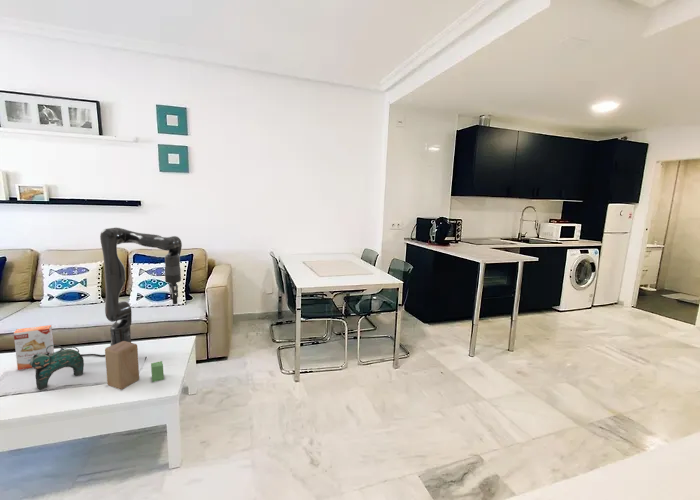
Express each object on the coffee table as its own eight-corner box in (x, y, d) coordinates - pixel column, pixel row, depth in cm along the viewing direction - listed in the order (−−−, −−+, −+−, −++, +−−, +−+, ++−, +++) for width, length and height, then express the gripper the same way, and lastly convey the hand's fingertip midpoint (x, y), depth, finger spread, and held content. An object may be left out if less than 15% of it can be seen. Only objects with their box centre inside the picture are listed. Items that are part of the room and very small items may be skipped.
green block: (151, 377, 172) (150, 363, 170) (162, 374, 175) (162, 360, 173) (152, 382, 168) (151, 367, 166) (163, 379, 171) (163, 365, 169)
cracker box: (17, 371, 171) (12, 333, 168) (20, 365, 176) (16, 328, 173) (53, 364, 179) (49, 328, 176) (55, 359, 184) (51, 324, 181)
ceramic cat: (35, 392, 155) (31, 353, 151) (30, 388, 158) (26, 349, 155) (86, 374, 171) (83, 338, 168) (80, 370, 175) (77, 335, 171)
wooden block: (140, 380, 169) (138, 343, 166) (121, 390, 159) (118, 352, 156) (126, 375, 172) (123, 339, 169) (106, 385, 163) (103, 348, 159)
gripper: (163, 270, 183) (164, 299, 185) (166, 276, 171) (167, 306, 174) (178, 269, 187) (179, 297, 190) (182, 275, 175) (183, 304, 178)
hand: (174, 301), depth 182 cm, fingers open, 8 cm apart
